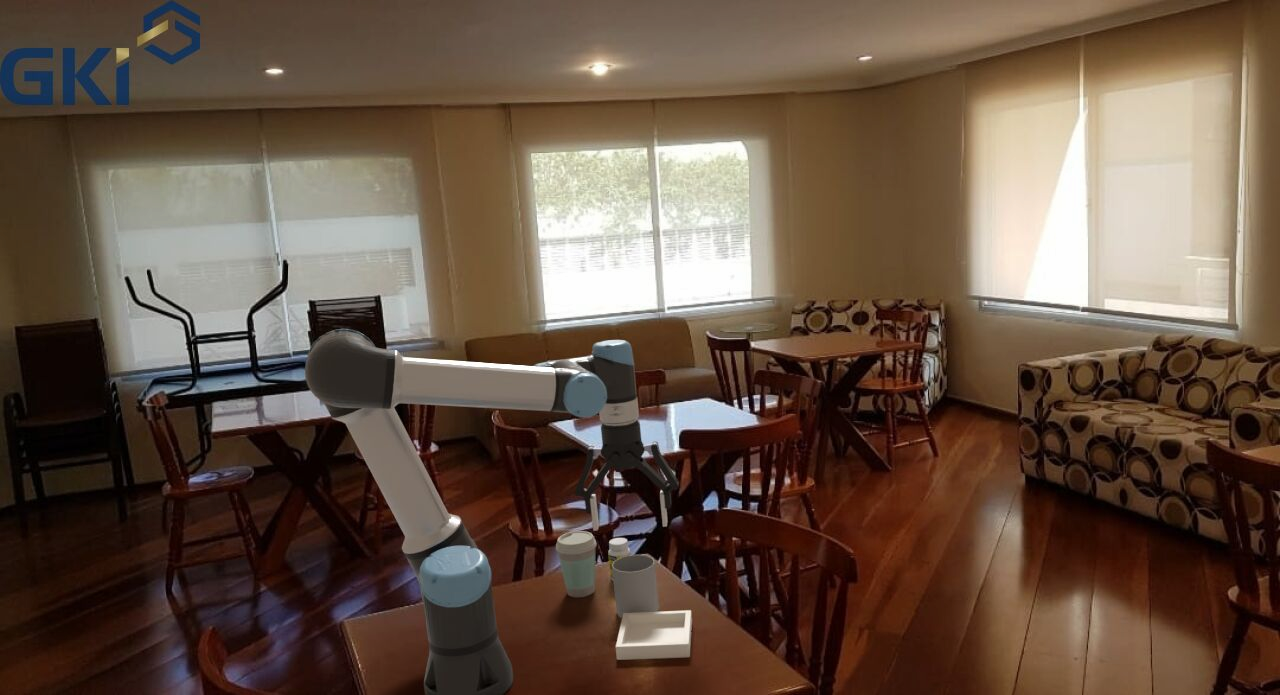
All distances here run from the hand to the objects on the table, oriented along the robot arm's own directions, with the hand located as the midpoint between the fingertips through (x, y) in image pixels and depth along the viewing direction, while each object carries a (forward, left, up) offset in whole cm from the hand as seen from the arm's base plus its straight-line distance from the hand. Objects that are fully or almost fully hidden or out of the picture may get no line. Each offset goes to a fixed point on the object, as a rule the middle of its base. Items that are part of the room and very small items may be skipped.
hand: (630, 526), depth 177 cm
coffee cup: (-13, +10, -18) cm, 24 cm away
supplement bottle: (-5, +16, -18) cm, 24 cm away
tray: (+4, -13, -18) cm, 22 cm away
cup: (0, 0, -18) cm, 18 cm away
